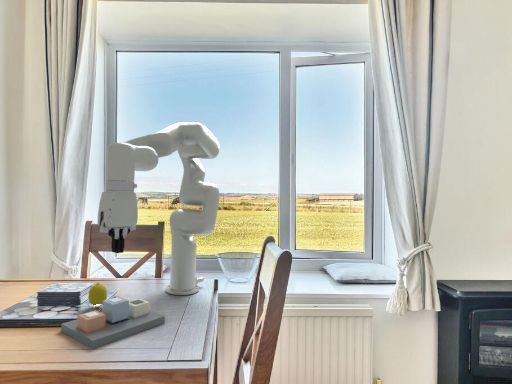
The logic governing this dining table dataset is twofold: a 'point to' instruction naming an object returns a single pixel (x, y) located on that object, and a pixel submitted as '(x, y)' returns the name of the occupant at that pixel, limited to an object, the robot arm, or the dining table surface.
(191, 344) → the dining table surface
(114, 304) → the key slate
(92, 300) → the lemon
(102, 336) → the keypad board
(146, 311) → the key cream
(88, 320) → the key terracotta
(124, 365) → the dining table surface
